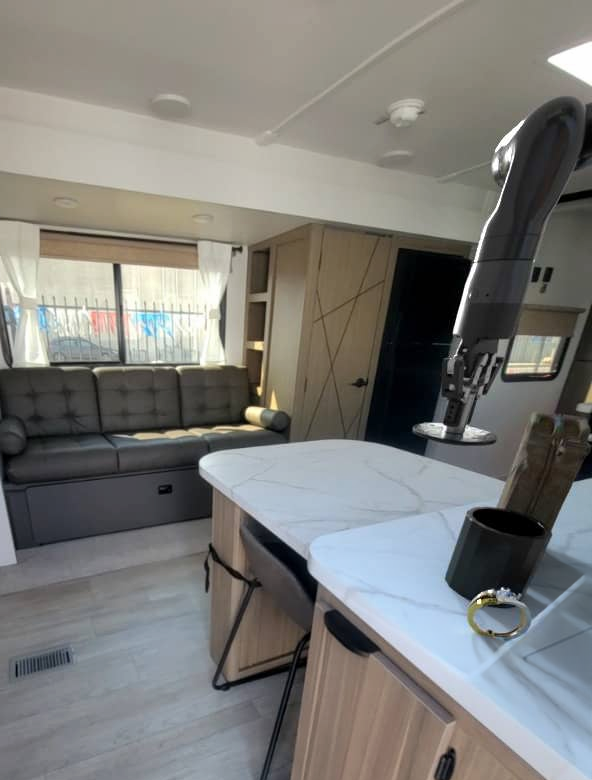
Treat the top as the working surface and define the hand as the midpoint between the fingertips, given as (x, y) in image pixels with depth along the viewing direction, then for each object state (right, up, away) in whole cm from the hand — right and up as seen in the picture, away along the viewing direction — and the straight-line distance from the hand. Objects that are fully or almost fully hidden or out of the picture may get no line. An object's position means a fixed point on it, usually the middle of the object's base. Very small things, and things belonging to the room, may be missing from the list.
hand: (456, 424), depth 64 cm
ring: (0, -31, -8) cm, 32 cm away
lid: (0, -2, +1) cm, 2 cm away
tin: (+5, -27, +2) cm, 27 cm away
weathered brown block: (+18, -22, +14) cm, 32 cm away
